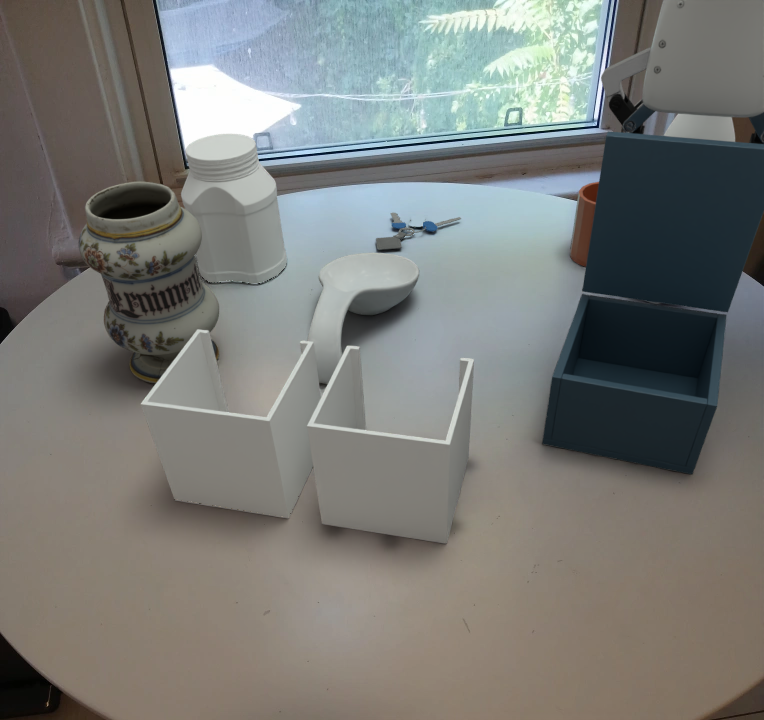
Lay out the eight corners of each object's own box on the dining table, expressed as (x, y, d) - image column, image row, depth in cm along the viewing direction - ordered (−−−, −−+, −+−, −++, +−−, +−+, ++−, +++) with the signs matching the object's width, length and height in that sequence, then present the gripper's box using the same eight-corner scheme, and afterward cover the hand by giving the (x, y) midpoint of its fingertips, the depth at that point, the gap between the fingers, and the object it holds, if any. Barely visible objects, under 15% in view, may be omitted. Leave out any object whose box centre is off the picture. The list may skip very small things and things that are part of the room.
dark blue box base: (692, 475, 65) (717, 405, 60) (541, 444, 69) (552, 376, 64) (704, 381, 75) (726, 314, 69) (570, 359, 79) (582, 293, 73)
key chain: (387, 256, 96) (387, 250, 95) (347, 236, 100) (347, 231, 100) (462, 222, 102) (462, 216, 101) (421, 204, 106) (421, 199, 106)
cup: (594, 237, 97) (604, 176, 92) (638, 255, 93) (652, 193, 88) (558, 255, 94) (566, 193, 89) (602, 275, 90) (614, 211, 85)
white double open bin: (174, 500, 66) (140, 403, 58) (222, 424, 73) (197, 329, 65) (446, 543, 61) (449, 444, 53) (468, 457, 68) (474, 358, 60)
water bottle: (637, 311, 84) (694, 67, 66) (621, 280, 89) (670, 45, 71) (699, 308, 84) (774, 63, 66) (680, 277, 89) (744, 41, 71)
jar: (190, 283, 94) (159, 161, 83) (212, 247, 100) (186, 131, 89) (277, 285, 92) (257, 162, 81) (294, 249, 99) (277, 131, 88)
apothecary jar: (176, 404, 76) (125, 238, 63) (97, 370, 81) (35, 210, 68) (251, 346, 83) (218, 186, 70) (174, 319, 88) (130, 164, 75)
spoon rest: (338, 272, 94) (333, 218, 89) (428, 280, 91) (428, 225, 86) (274, 381, 78) (264, 322, 73) (381, 394, 76) (377, 334, 70)
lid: (785, 150, 56) (788, 117, 59) (606, 135, 60) (617, 104, 63) (727, 312, 69) (732, 278, 72) (582, 291, 72) (592, 260, 75)
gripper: (871, -67, 53) (789, 172, 66) (628, -67, 58) (594, 156, 71) (879, -46, 49) (789, 207, 61) (614, -48, 54) (580, 187, 66)
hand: (685, 179), depth 66 cm, fingers open, 9 cm apart
